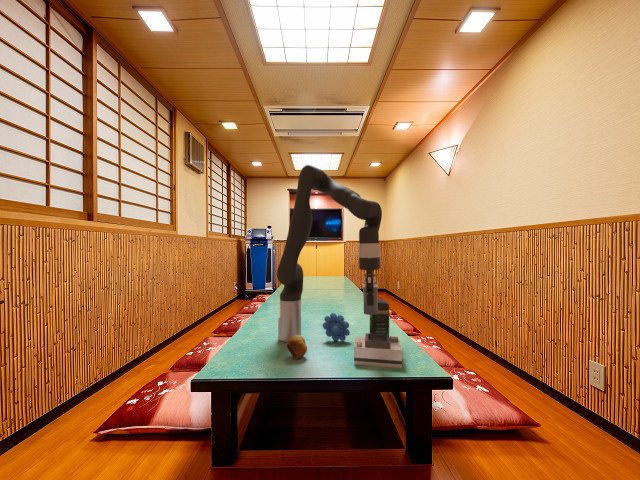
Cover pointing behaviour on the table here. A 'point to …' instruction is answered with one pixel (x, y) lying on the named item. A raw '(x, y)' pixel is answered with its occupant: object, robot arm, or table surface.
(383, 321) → the coffee jar
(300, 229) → the robot arm
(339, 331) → the grapes
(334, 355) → the table surface
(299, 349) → the fruit
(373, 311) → the flashlight
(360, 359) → the box with square recess
